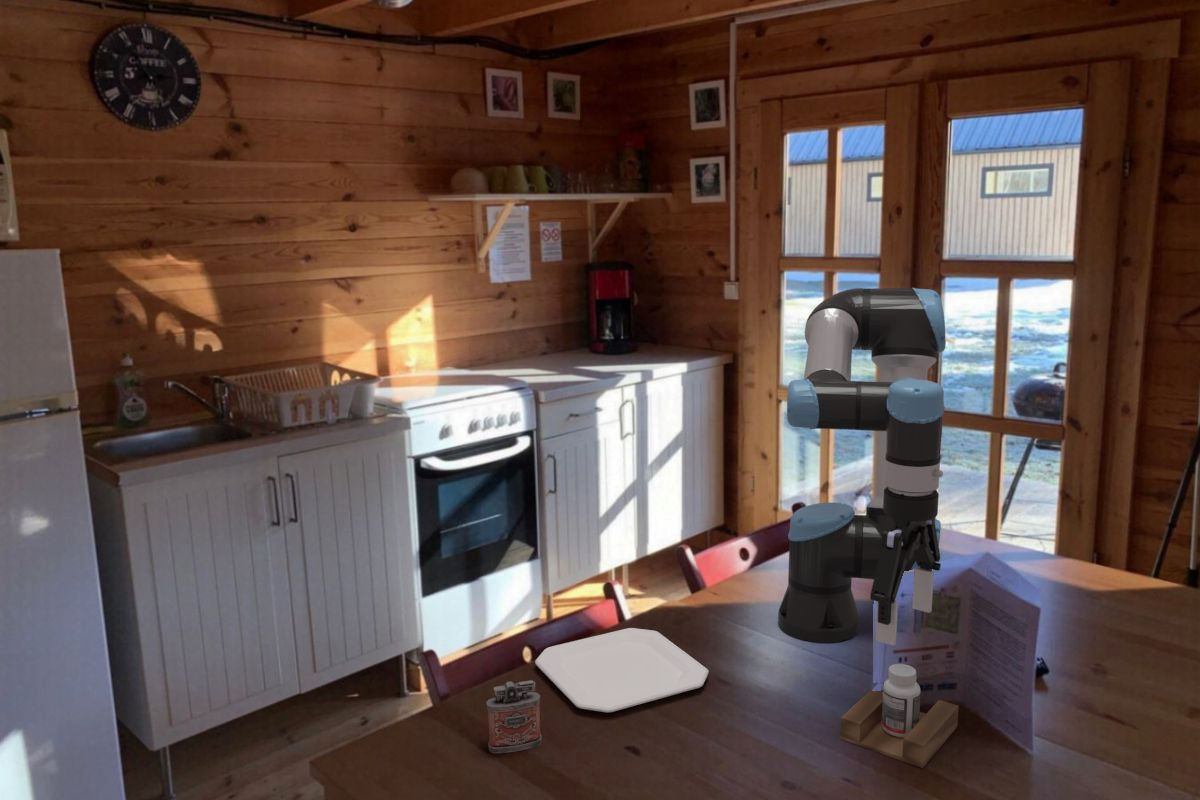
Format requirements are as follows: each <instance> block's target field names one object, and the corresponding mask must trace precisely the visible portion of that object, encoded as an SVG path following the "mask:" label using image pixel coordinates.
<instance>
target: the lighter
mask: <svg viewBox="0 0 1200 800" xmlns="http://www.w3.org/2000/svg"><path fill="white" fill-rule="evenodd" d="M493 694H494V697H491V698H490V699H488V700H487V701H486V709H487V718H488V737H489V741H488V742H487V744H488V751H489V752H490V753H492V754H503V753H505V754H506V753H513V752H519V751H524V750H529V749H531V748H535V747H538V746H540V745H541V744H542V742H543V741H542V739H543V738H542V734H541V719H540V717H541V716H540V703H541V695H540V694H539V693H538V692H536V682H535V681H534V680H526V681H519V682H517V683H514V682H513V681H507V682H505V684H504V685H500V686H495V687H493Z"/></svg>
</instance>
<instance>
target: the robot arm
mask: <svg viewBox="0 0 1200 800" xmlns="http://www.w3.org/2000/svg"><path fill="white" fill-rule="evenodd" d="M943 306H944V305H943V303H942V299H941V296H940V295H939V293H938V292H937V291H935V290H933V289H927V288H926V289H925V288H916V287H907V288H906V287H904V288H903V287H902V288H901V287H900V288H898V287H895V288H894V287H893V288H889V287H888V288H886V287H885V288H859V287H857V288H849V289H846V290H842V291H839V292H837V293H834V294H832V295H831V296H829V297H827V298H825V299H824V300H822V301H821V302H820V303H819V304H818V305H816V306H815V308H814V309H812V311H811V313H810V314H809V316H808V317H807V319H806V323H805V328H804V339H805V342H806V345H807V346H808V347H807V352H806V353H807V354H806V361H805V368H804V372H803V373H804V374H803V378H802V379H793V380H791V381H790V382H789V383H788V385H787V386H788V387H787V398H786V400H787V401H786V418H787V423H788V424H789V425H790V426H791V427H794V428H804V429H809V430H817V429H818V430H845V431H846V430H849V431H850V430H852V431H864V432H865V431H869V432H871V431H873V432H877V436H876V463H875V465H876V466H875V470H876V471H875V494H874V498H873V499H872V500H870V501H869V502H868V503H867V504H866V513H865V514H856V511H855V510H854V507H853V506H851V505H849V504H847V503H841V502H819V503H814V504H813V503H812V504H810V505H805V506H803V507H800V508H798V509H797V510H796V511H794V512H793V514H792V515H791V516H790V520H789V521H790V523H789V532H788V535H787V539H788V540H789V543H788V544H789V547H788V549H789V550H788V551H789V553H788V577H787V578H788V580H787V587H786V590H785V593H784V594H783V598H782V601H781V604H780V606H779V609H778V614H777V624H778V627H779V628H780V629H781V631H783V632H784V633H786V634H787V635H789V636H791V637H794V638H796V639H799V640H803V641H807V642H814V643H836V642H837V643H838V642H839V643H840V642H843V641H847V640H851V639H852V638H854V637H855V636H856V635H857V634H859V632H860V624H861V623H860V622H861V621H860V613H859V610H858V607H857V603H856V601H855V598H854V597H855V596H854V594H853V591H852V583H853V582H852V580H853V579H866V580H873V582H872V587H871V591H870V596H869V598H870V600H871V601H875V602H876V626H875V627H876V628H875V641H876V642H879V643H882V644H886V645H889V646H893V647H894V646H895V645H896V644H897V630H898V629H897V626H898V608H899V607H898V606H899V602H898V601H899V600H896V598H897V595H898V592H899V588H900V586H901V583H902V582H901V579H902V576H903V573H904V571H909V570H913V569H914V582H913V590H912V609H913V610H918V611H921V612H924V613H928V614H930V613H932V612H933V611H932V610H933V609H932V608H933V606H932V605H933V594H934V593H933V591H934V589H933V588H934V576H935V575H934V573H935V572H934V571H937V572H938V571H939V572H940V570H941V565H942V564H941V563H940V560H941V552H940V539H941V528H942V523H941V521H940V520H938V518H937V516H938V513H939V512H938V511H939V492H938V491H937V489H939V488H940V487H939V486H940V478H942V477H943V476H944V471H942V469H941V470H940V468H941V449H942V436H943V435H942V434H943V420H944V419H943V418H944V413H945V407H946V406H945V402H944V400H945V399H944V398H945V397H944V396H945V395H944V393H945V392H944V388H943V386H942V385H941V384H940V383H937V382H934V381H931V380H928V371H929V369H930V368H931V367H932V366H933V365H934V364H935V363H936V362H937V355H938V353H943V352H945V350H946V342H947V341H946V339H947V338H946V324H945V314H944V308H943ZM853 350H854V351H855V350H859V351H871V356H870V358H871V362H872V363H874V365H875V366H876V367H877V368H878V370H879V372H878V373H879V378H878V379H879V380H878V381H862V380H861V381H860V380H857V381H856V380H852V357H853ZM932 569H933V570H934V571H932Z"/></svg>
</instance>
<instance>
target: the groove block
mask: <svg viewBox="0 0 1200 800" xmlns="http://www.w3.org/2000/svg"><path fill="white" fill-rule="evenodd" d="M882 705H883V690H881V691H875V692H874V691H872V688H870V689H869V690H868V691H867V693H865V694H864V695H863V696H862V697H861V698H860V699H859V700H858V701H857V702H856V703H855V704H853V706H851V708H849V710H847V712H845V713H844V714H843V715H842V716H841V717H840V733H839V735H840V736H839V738H840V740H842V741H845V742H847V743H850V744H854V745H856V746H859V747H862V748H865V749H868V750H871V751H873V752H876V753H878V754H881V755H885V756H887V757H890V758H892V759H895V760H898V761H901V762H903V763H906V764H910V765H913V766H914V767H918V768H920V769H924V767H925V766H926V765H927V764H928V763H929V761H931V759H932V758H933V757H934V755H935V754H936V753H937V752H938V751H939V749H940V748H941V747H942V746H943V745H944V744H945V743H946V741H947V740H948V739H949V737H951V736H952V734H953V733H954V731H955V730H956V729H957V728H958V724H959V721H958V720H959V709H960V707H959V705H957V704H954V703H951V702H948V701H944V700H941V699H939V700H937V702H935V704H934V705H933V706H932V707H930V709H929V710H928V711H927V713H925V712H923V711H922V712H921V711H920V712H919V722H918V723H917V725H916V726H915V727H914V728H913V729H912V730H911V731H910V732H909V733H908V734H907V735H906V737H905V738H900V737H896V736H893V735H890V734H888V733H887V732H886V731H884V729H883V727H882Z"/></svg>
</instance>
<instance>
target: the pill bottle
mask: <svg viewBox="0 0 1200 800" xmlns="http://www.w3.org/2000/svg"><path fill="white" fill-rule="evenodd" d="M887 673H888V675H887V676H888V678H887V679H886V680H885V681H884V682H883V683H884V685H883V705H882V727H883V729H884V731H886V732H887V733H888V734H890V735H893V736H896V737H900V738H905V737H906V735H907V734H908V733H909V732H910V731H911V730H912V729H913V728H914V727H915V726H916V725H917V723H918V722H919V712H921V711H920V710H921V709H920V708H921V707H920V706H921V693H922V692H921V687H920V685H919V683H918V682H917V670H916V668H914V667H913V666H911V665H908V664H903V663H895V664H892V665H890V666H889V667H888V672H887Z"/></svg>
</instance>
